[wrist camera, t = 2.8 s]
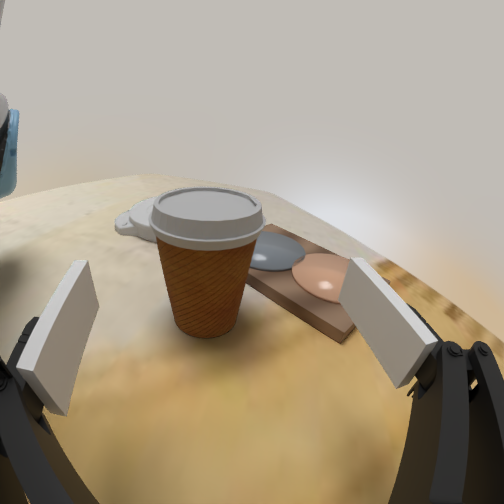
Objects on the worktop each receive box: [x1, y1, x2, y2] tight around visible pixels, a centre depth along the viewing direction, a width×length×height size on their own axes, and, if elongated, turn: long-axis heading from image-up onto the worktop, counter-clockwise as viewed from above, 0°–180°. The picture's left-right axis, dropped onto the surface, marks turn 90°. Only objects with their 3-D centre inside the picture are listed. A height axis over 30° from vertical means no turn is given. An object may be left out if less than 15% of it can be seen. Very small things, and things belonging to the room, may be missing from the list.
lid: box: [115, 196, 158, 242], centre depth 46 cm, size 17×20×3 cm
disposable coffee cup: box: [148, 187, 266, 338], centre depth 24 cm, size 10×10×12 cm
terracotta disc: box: [292, 253, 350, 304], centre depth 33 cm, size 11×11×1 cm
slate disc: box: [250, 231, 306, 272], centre depth 38 cm, size 11×11×1 cm
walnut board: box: [246, 224, 390, 343], centre depth 36 cm, size 22×14×2 cm, turn 44°
